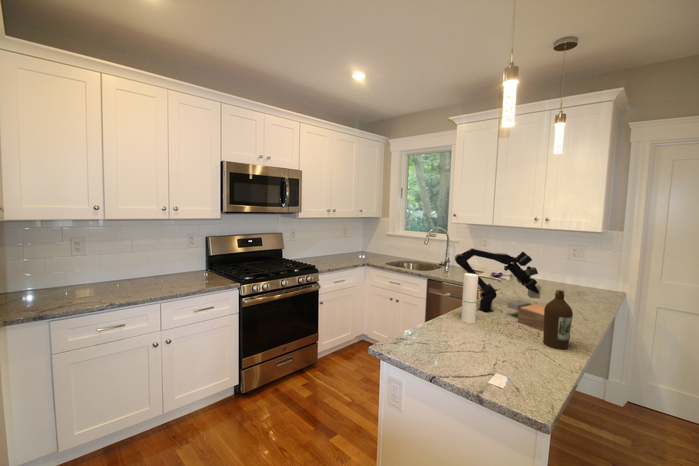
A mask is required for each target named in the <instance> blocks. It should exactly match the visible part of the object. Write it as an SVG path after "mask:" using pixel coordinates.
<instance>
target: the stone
mask: <svg viewBox="0 0 699 466" xmlns="http://www.w3.org/2000/svg"><path fill="white" fill-rule="evenodd" d="M535 286H536V288H537V289H538V291H539V293H538V294H537V293H535V292H533V291H531V290H529V289H527V296H528V297H529V298H531V299H541V291H542V286H541V285H540V284H538V283H537V284H535Z"/></svg>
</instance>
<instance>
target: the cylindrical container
mask: <svg viewBox="0 0 699 466" xmlns="http://www.w3.org/2000/svg"><path fill="white" fill-rule="evenodd" d="M477 274H478V273H477ZM477 274H471V273H468V272H466V273H464V274H463V286H462V303H461V319H460V320H461V321H462V322H464V323H468V324H473V323H475V322H476V315H477V303H478V302H477V301H478V290H479V289H478V287H479V285H478V276H479V274H478V275H477Z"/></svg>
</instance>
